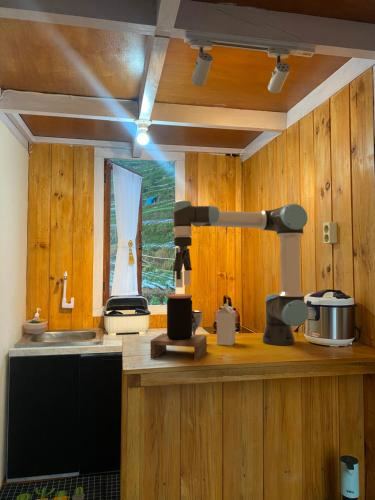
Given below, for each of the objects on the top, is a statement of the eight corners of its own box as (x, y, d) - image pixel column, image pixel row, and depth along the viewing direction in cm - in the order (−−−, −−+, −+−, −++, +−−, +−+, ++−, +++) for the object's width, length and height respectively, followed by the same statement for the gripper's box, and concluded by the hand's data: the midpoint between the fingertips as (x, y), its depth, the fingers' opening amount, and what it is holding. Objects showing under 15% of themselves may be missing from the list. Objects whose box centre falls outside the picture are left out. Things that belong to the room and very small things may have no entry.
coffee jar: (195, 336, 160) (195, 294, 160) (187, 341, 150) (187, 296, 150) (172, 334, 163) (172, 293, 164) (162, 339, 153) (162, 295, 154)
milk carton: (216, 344, 174) (216, 304, 175) (221, 341, 181) (220, 302, 182) (231, 346, 172) (231, 304, 172) (235, 343, 178) (235, 303, 179)
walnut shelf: (206, 351, 161) (206, 335, 162) (198, 361, 146) (198, 343, 146) (162, 348, 166) (162, 333, 167) (150, 357, 151) (150, 340, 151)
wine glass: (202, 342, 181) (202, 311, 181) (201, 345, 173) (201, 313, 173) (186, 341, 182) (186, 310, 182) (184, 345, 174) (184, 313, 174)
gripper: (181, 238, 173) (182, 284, 172) (165, 235, 149) (166, 288, 148) (197, 238, 171) (198, 284, 170) (184, 234, 147) (184, 288, 146)
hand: (183, 286), depth 159 cm, fingers open, 13 cm apart
